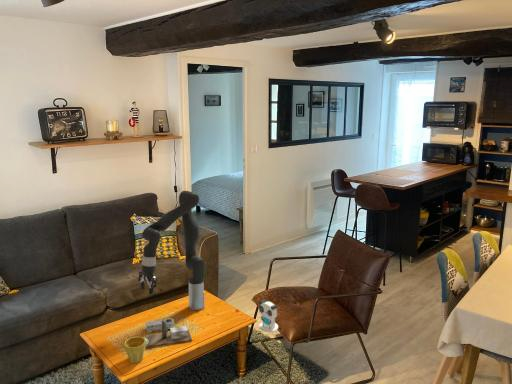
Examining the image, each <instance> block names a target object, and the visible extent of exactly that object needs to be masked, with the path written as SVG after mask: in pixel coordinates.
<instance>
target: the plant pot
mask: <svg viewBox="0 0 512 384" xmlns="http://www.w3.org/2000/svg"><path fill="white" fill-rule="evenodd" d="M123 345H124V347H123V348H124V351H125V352H126V355H127V358H128V360H129V362H130V363H131V364H138V363H141V362H142V361H143V360H144V353H145V347H146V341H145V339H144V338H142V337H140V336H133V337H130V338H128V339H126V340H125V342H124V344H123Z"/></svg>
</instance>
